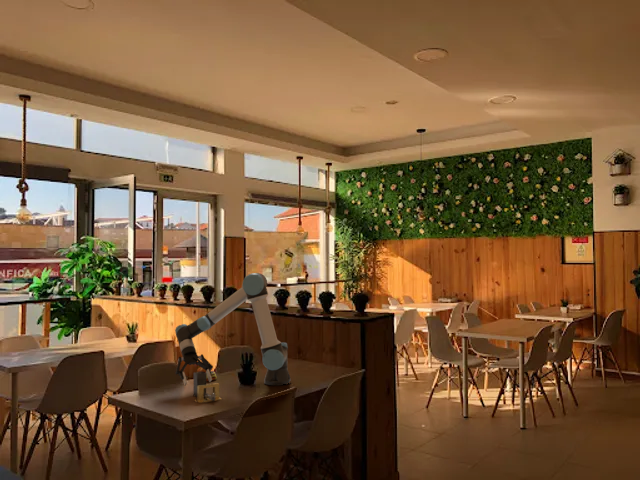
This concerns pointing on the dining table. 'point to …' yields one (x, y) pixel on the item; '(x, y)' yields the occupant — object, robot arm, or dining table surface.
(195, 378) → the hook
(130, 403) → the dining table surface
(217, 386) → the eye bracket
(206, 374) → the cheeseburger
